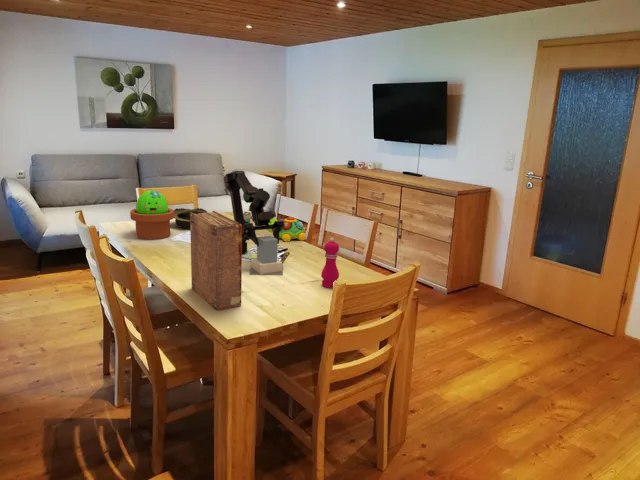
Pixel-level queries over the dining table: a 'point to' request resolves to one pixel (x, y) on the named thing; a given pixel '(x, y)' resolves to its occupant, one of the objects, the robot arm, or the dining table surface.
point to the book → (216, 259)
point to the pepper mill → (330, 264)
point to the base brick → (266, 266)
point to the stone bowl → (185, 216)
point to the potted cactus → (152, 216)
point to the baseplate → (253, 272)
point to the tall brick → (267, 249)
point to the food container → (247, 216)
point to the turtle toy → (290, 229)
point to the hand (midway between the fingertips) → (268, 244)
